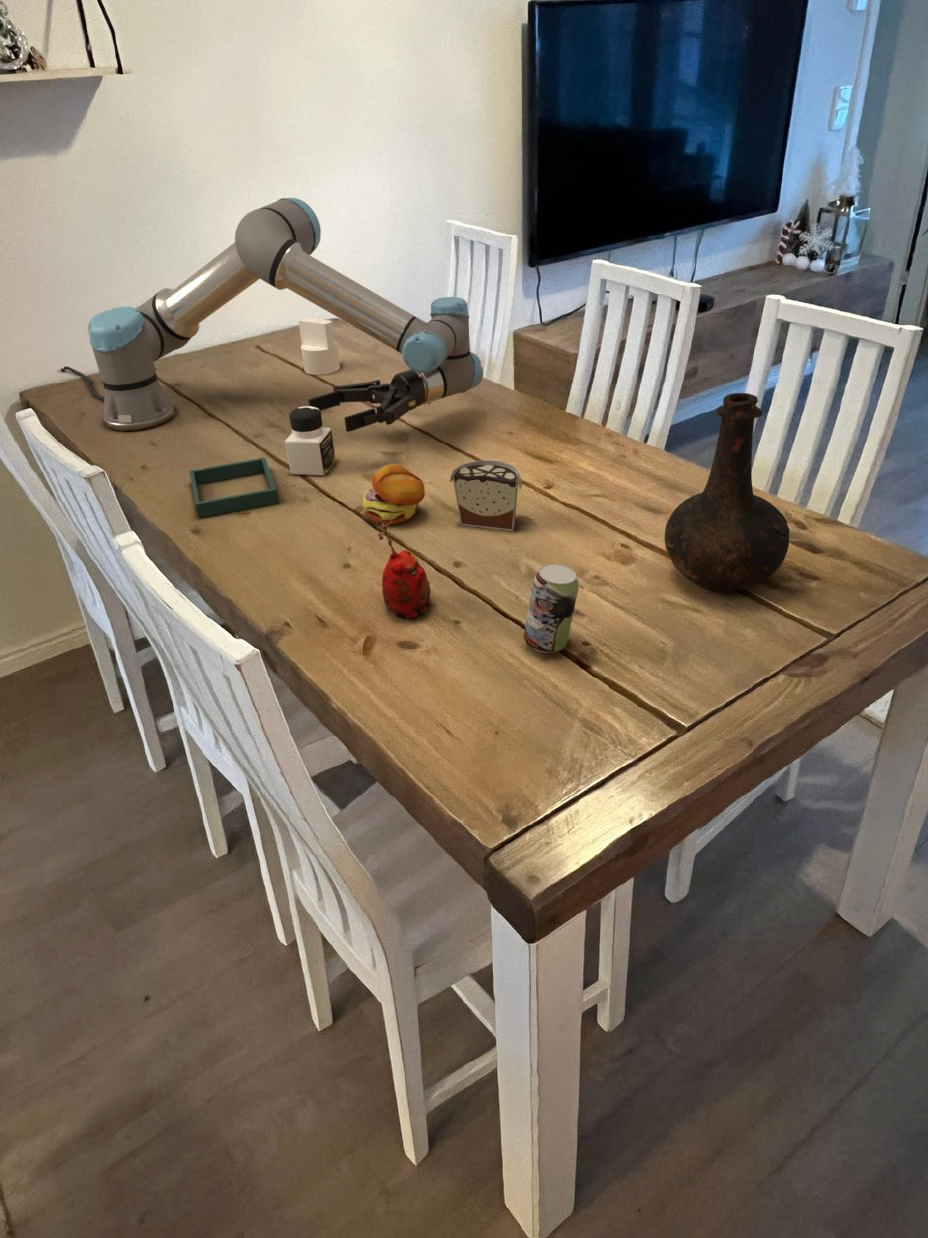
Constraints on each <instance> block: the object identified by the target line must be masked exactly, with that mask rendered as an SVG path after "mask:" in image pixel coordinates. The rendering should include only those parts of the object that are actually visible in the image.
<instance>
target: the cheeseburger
mask: <svg viewBox="0 0 928 1238" xmlns="http://www.w3.org/2000/svg"><path fill="white" fill-rule="evenodd" d="M371 481H372V482H371V485H372V487H371V488H369V489H368V490H367V491H366V493H364V495H363V497H362V507H363V508H364V513H365V515H366V516H367V518H369V519H370V520H372V521H374V522H376V523H377V524H381V522H380V521H378V519H380V520H381V521H382V522H383V524H384V525H388V524H389V523H390V522H392V523H391V524H390V525H395V524H396V525H397V524H400V523H403V522H407V521H408V520H410V519H411V518H413V517H414V516H415V515H416V513H417V510H418V506H419V504H420V503H421V502H422V501H423V500H424V498H425V496H426V492H425V484H424V482H423V480H422V478H420V477H419V476H417V475H415V474H414V473H413V472H411V471H410V470H409V469H408V468H406V466H404V465H401V464H398V463H397V464H395V463H389V464H386V465H385V466H383V467H381V468H380V469H378V470H377V472H375V473H374V475H373V477H372V479H371Z"/></svg>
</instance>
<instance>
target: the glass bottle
mask: <svg viewBox="0 0 928 1238" xmlns="http://www.w3.org/2000/svg"><path fill="white" fill-rule="evenodd" d="M722 403H723V404H722V405H720V406H718V407H716V409H715V415H717V416H719V417H721V420H720V426H719V431H718V437H717V442H716V445H715V446H716V447H715V450H714V451H715V452H714V455H713V460H712V464H711V468H710V472H709V475H708V479H707V481H706V484H705V487H704V489H703V491H702V492H700V493H697V494H695V495H691V496H690V497H688V498H686V499H684V501H682V502H681V503H679V504H678V505H677V506H676V507H675V509H673V511H672V513H671V514H670V516H669V517H668V520H667V522H666V525H665V529H664V545H665V549H666V553H667V555H668V557H669V559H670V561H671V563H672V565H673V566H674V568H676V570H677V571H678V572H679V573H680V574H681V575H682V576H683V577H684V578H685V579H687V580H689V581H690V582H691V583H694V584H695V585H698V586H700V587H702V588H706V589H708V590H712V591H720V592H736V591H737V592H738V591H743V590H747V589H750V588H753V587H756V586H758V585H760V584H762V583H764V582H765V581H767V580H768V579H769V578H770V577H772V576H773V575H774V574H775V573H776V572H777V571H778V569H779V568H780V567H781V566H782V564H783V562H784V561H785V558H786V556H787V553H788V551H789V547H790V527H789V525H788V521H787V519H786V517H785V516H784V513H782V512H781V511H780V510H779V509H778V508H777V507H776V506H775V505H773V503H771V502H770V501H768V500H766V499H765V498H763V497H761V496H759V495H756V494H754V489H753V479H752V477H753V475H752V472H753V470H752V465H753V464H752V462H753V461H752V460H753V439H754V428H755V419H757V418H760V417H762V415H763V410H762V409H760V408H759V407H758V406H757V403H759V399H758V396H756V395H754V394H752V393H747V392H734V393H733V392H732V393H729V394H727V395H725V396H724V397H723V398H722Z"/></svg>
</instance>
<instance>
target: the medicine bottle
mask: <svg viewBox="0 0 928 1238" xmlns="http://www.w3.org/2000/svg"><path fill="white" fill-rule="evenodd" d="M288 417H289V424H290V430H291V434H290V435H288V437H287V438H286V439H285V441H284V444H285V451H286V455H287V461H288V467H289V472H290V474H291V475H294V476H295V475H297V476H298V475H299V476H319V477H323V476H325V475H327V473H328V472H329V470H330V469H331V468H332V466H333V465H334V464H335V462H336V452H335V446H334V438H333V432H332V431H333V430H332V428H331V427H324V423H323V417H322V410H321V411H320V410H319V409H318V408H316V407H311V406H309V405H305V406H299V407H296V408H294V409H293V410H291V411H290V412H289V414H288Z"/></svg>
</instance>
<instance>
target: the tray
mask: <svg viewBox="0 0 928 1238" xmlns="http://www.w3.org/2000/svg"><path fill="white" fill-rule="evenodd" d="M257 474H264V477H265V479H266V482H267V485H268V489H262V490H261V489H260V490H257V491H251V492H246V493H240V494H235V495H229V496H224V497H219V498H213V499H208V500H203V501H201V499H200V493H199V488H198V485H203V484H207V483H208V484H209V483H214V482H219V481H225V480H230V479H235V478H240V477H241V478H242V477H247V476H252V475H257ZM189 477H190V483H191V487H192V493H193V499H194V506H195V509H196V512H197V517H198V519H201V518H208V517H213V516H217V515H223V514H228V513H234V512H239V511H244V510H249V509H254V508H260V507H265V506H270V505H275V504H276V505H277V504H279V503H280V501H279V495H278V490H277V486H276V484H275V482H274V478H273V476H272V473H271V470H270V467H269V465H268V461H267V459H266V457H259V458H254V459H253V458H252V459H248V460H247V459H246V460H243V461H242V460H241V461H236V462H231V463H225V464H220V465H214V466H208V467H202V468H197V469H191V470H189Z"/></svg>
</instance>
